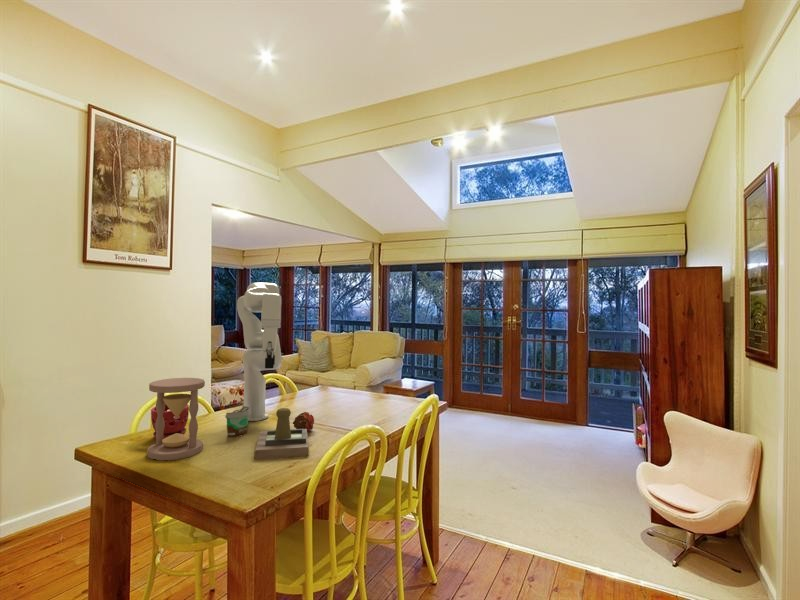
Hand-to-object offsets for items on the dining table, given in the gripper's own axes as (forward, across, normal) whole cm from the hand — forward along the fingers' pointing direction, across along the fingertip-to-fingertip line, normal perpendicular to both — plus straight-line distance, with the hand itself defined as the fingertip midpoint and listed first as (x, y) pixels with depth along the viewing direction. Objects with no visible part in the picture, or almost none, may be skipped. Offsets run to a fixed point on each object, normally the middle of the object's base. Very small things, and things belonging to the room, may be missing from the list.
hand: (269, 366), depth 167 cm
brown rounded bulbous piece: (+25, +13, +6) cm, 29 cm away
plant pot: (+29, -8, -38) cm, 48 cm away
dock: (+28, +13, +6) cm, 32 cm away
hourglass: (+28, +11, -31) cm, 44 cm away
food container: (+28, -6, -11) cm, 31 cm away
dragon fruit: (+29, -6, +14) cm, 32 cm away
